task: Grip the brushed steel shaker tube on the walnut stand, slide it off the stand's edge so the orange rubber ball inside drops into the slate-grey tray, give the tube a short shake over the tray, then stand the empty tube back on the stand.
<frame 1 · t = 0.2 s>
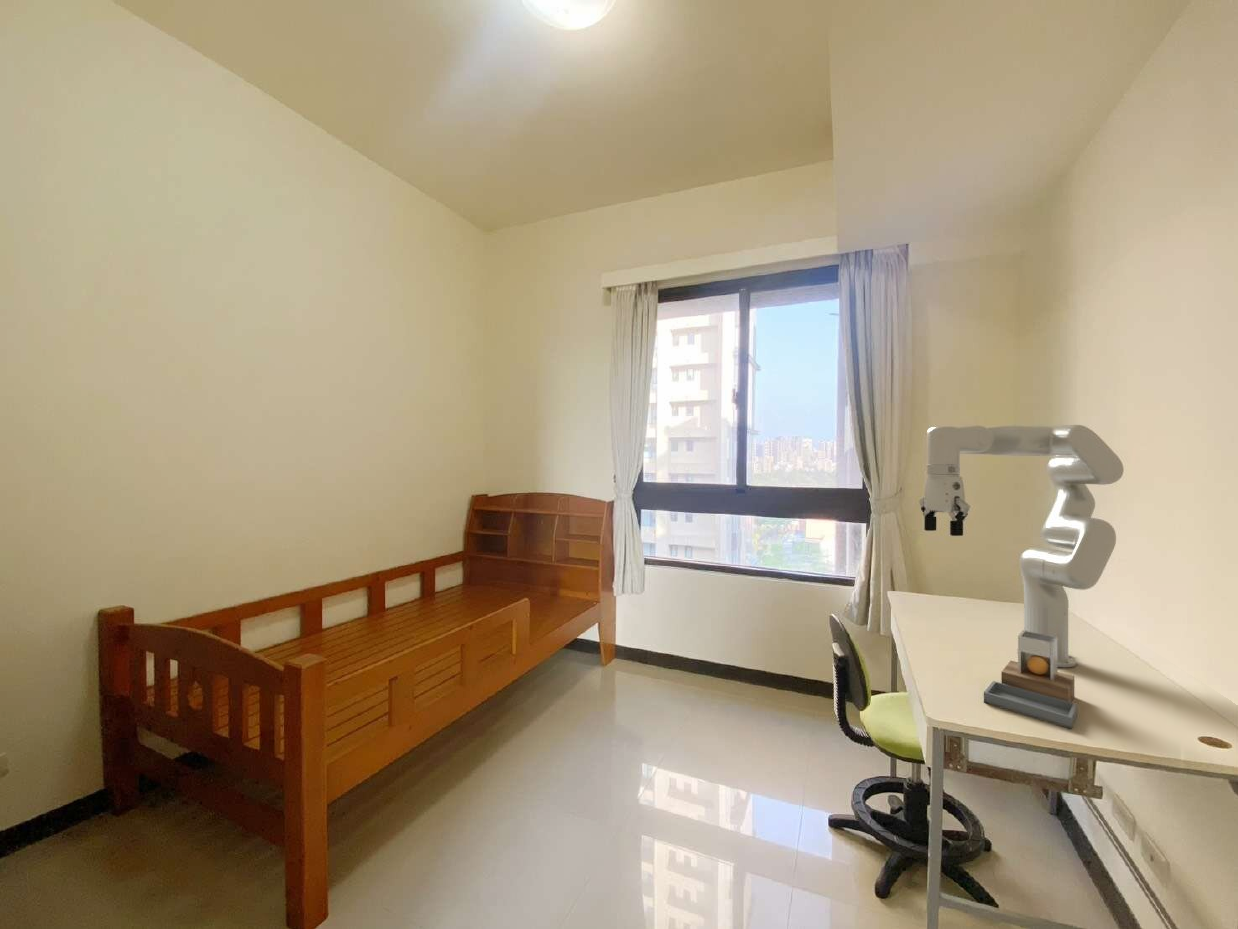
hand: (943, 532, 133), 37 cm above the table, tool pointing down, fingers open, 9 cm apart
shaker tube: (1037, 673, 116), point 5 cm above the table, touching stand
tray: (1029, 708, 110), on the table
stand: (1037, 694, 116), on the table
ball: (1037, 665, 116), point 7 cm above the table, touching stand
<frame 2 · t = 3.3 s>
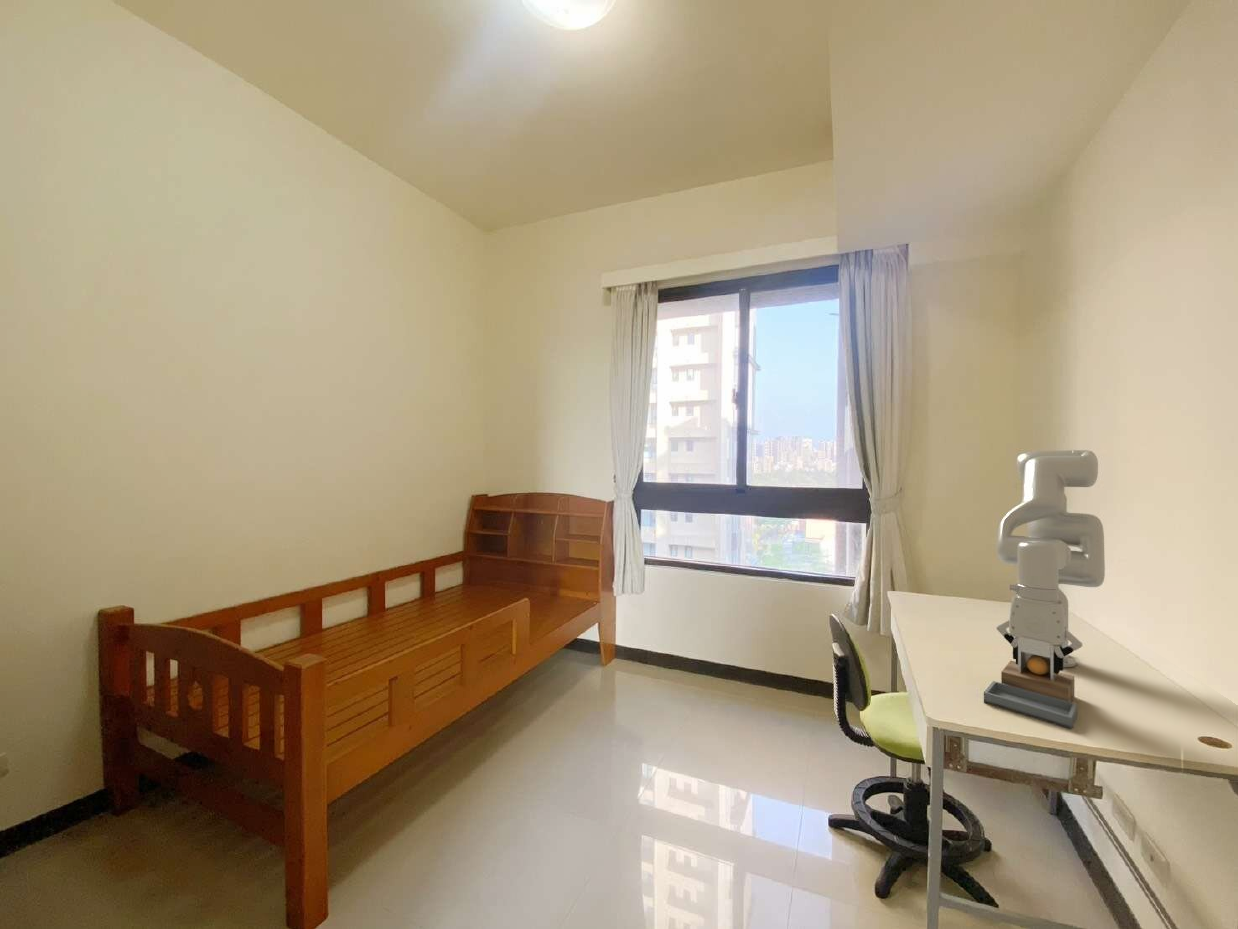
hand: (1037, 666, 116), 7 cm above the table, tool pointing down, fingers closed on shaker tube, 6 cm apart
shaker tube: (1037, 673, 116), point 5 cm above the table, touching gripper, stand
everything else where it was.
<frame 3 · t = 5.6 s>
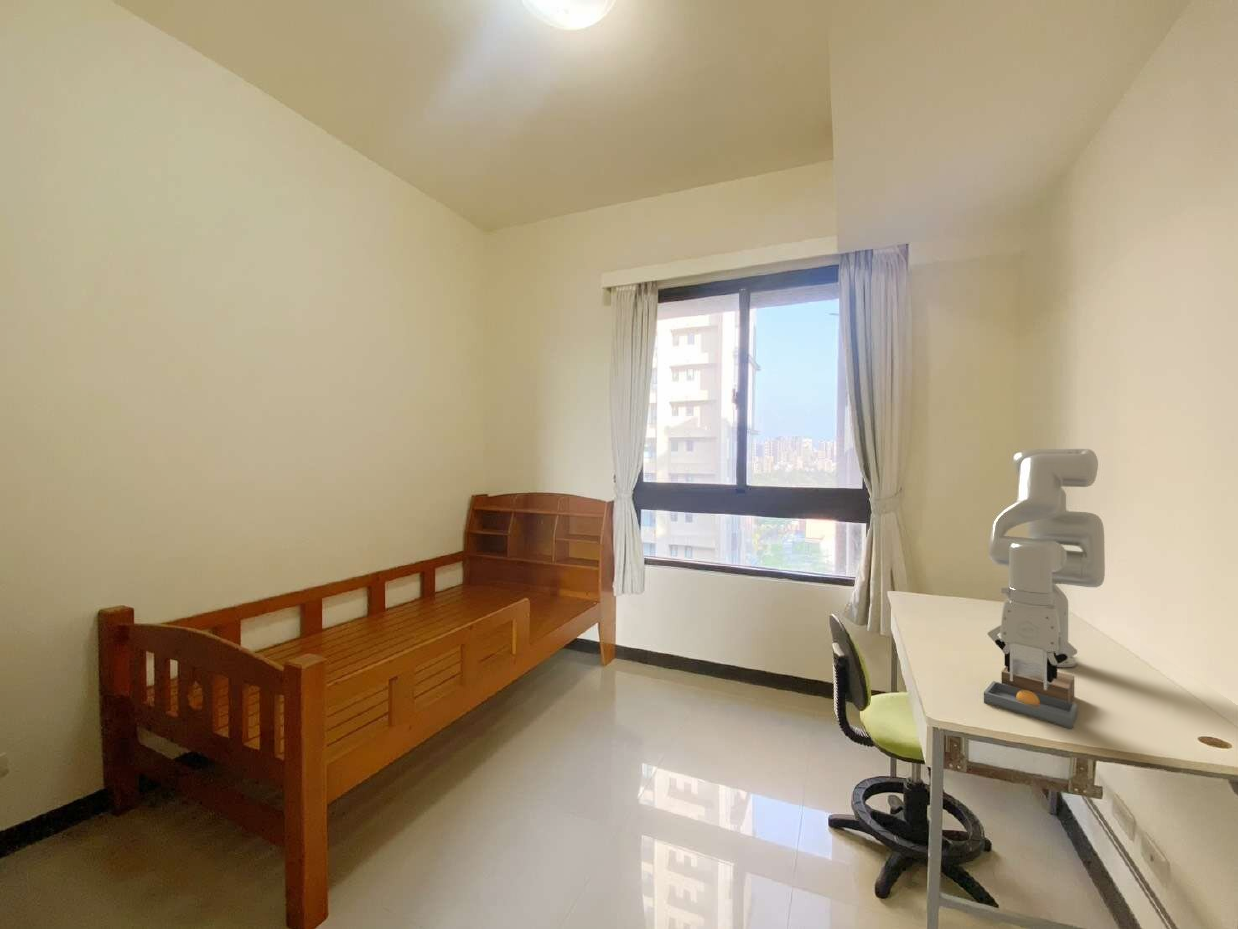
hand: (1030, 674, 110), 7 cm above the table, tool pointing down, fingers closed on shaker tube, 6 cm apart
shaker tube: (1030, 681, 110), point 6 cm above the table, touching gripper
ball: (1027, 699, 108), point 3 cm above the table, tilted 28°, touching tray
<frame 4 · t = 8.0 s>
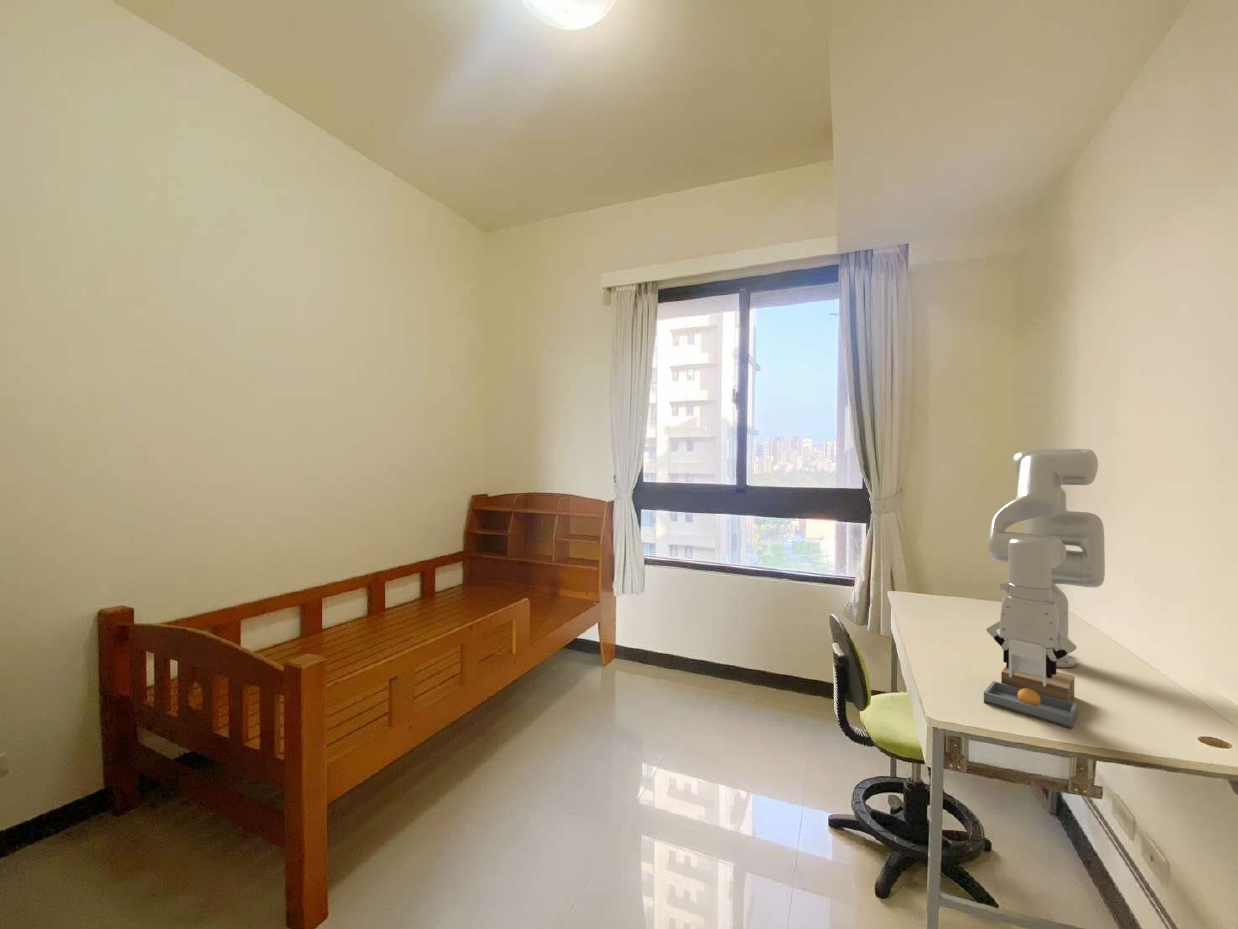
hand: (1029, 670, 110), 9 cm above the table, tool pointing down, fingers closed on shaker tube, 6 cm apart
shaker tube: (1029, 678, 110), point 7 cm above the table, touching gripper
ball: (1028, 698, 109), point 3 cm above the table, tilted 7°, touching tray
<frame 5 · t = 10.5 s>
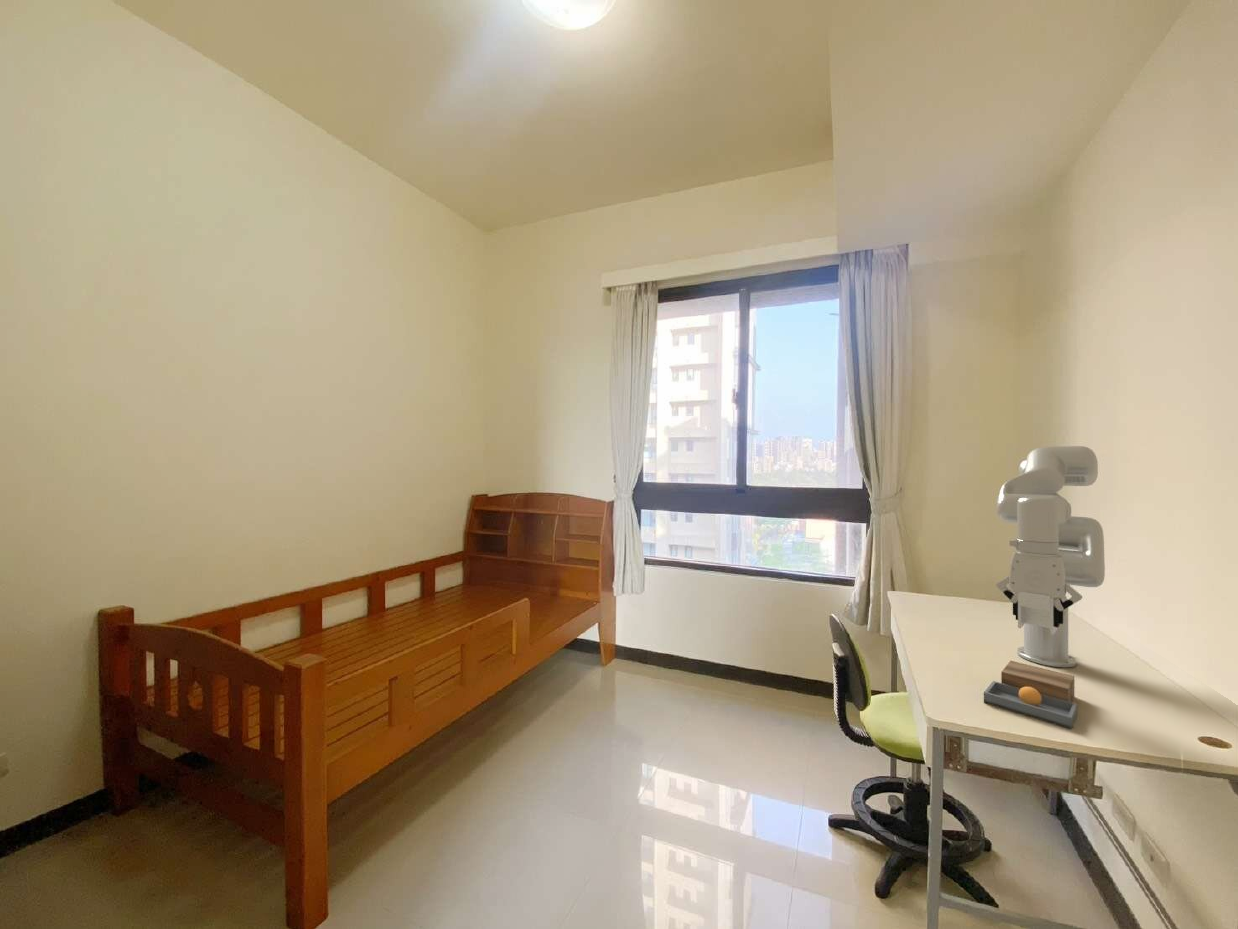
hand: (1037, 621, 116), 18 cm above the table, tool pointing down, fingers closed on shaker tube, 6 cm apart
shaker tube: (1037, 628, 116), point 16 cm above the table, touching gripper
ball: (1029, 696, 110), point 3 cm above the table, tilted 43°, touching tray
when the fingers open (8 cm above the table, at t = 12.6 s): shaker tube drops 1 cm, resting on stand.
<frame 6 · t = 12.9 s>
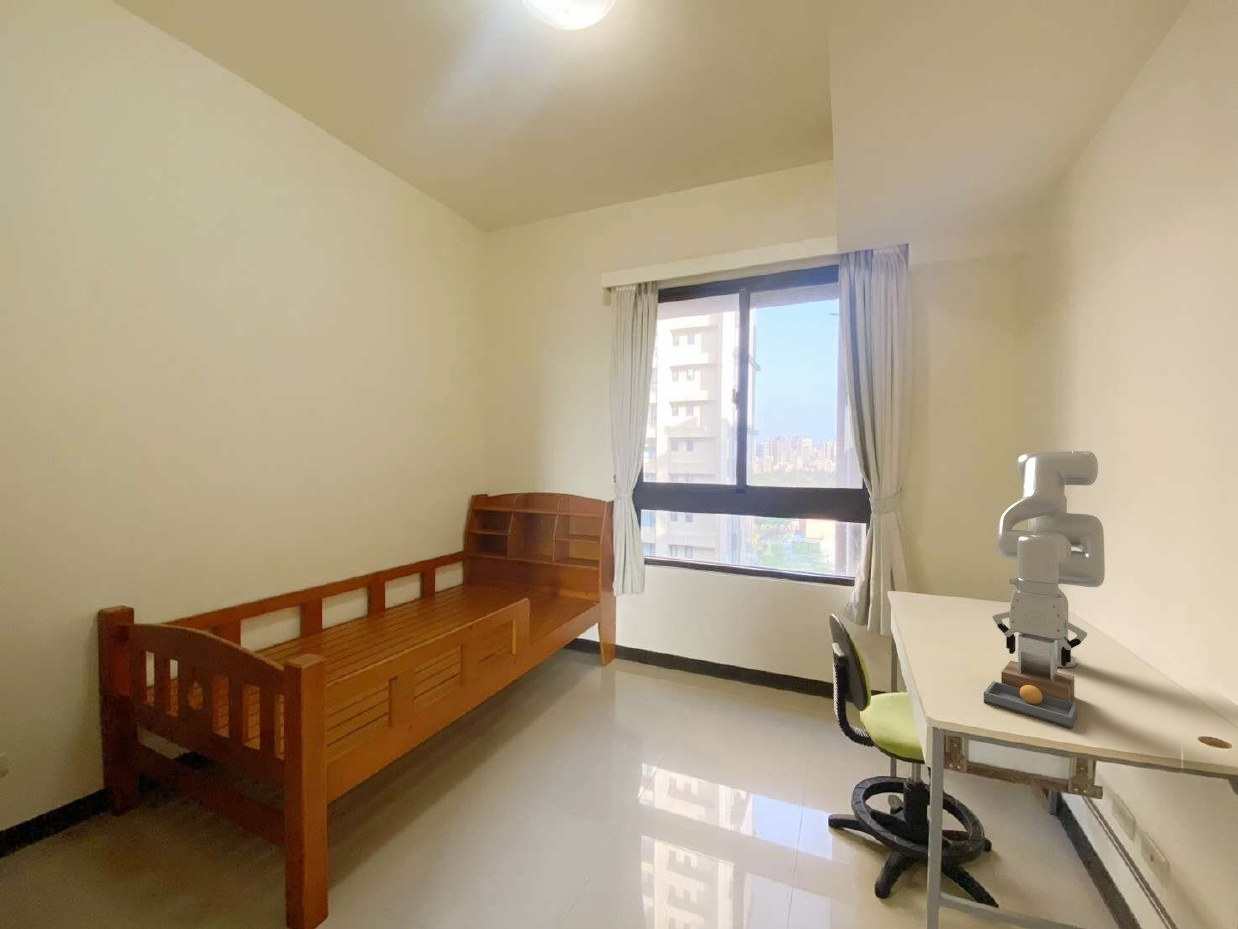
hand: (1037, 658, 116), 9 cm above the table, tool pointing down, fingers open, 9 cm apart
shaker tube: (1037, 673, 116), point 5 cm above the table, touching stand
ball: (1031, 694, 111), point 3 cm above the table, tilted 78°, touching tray
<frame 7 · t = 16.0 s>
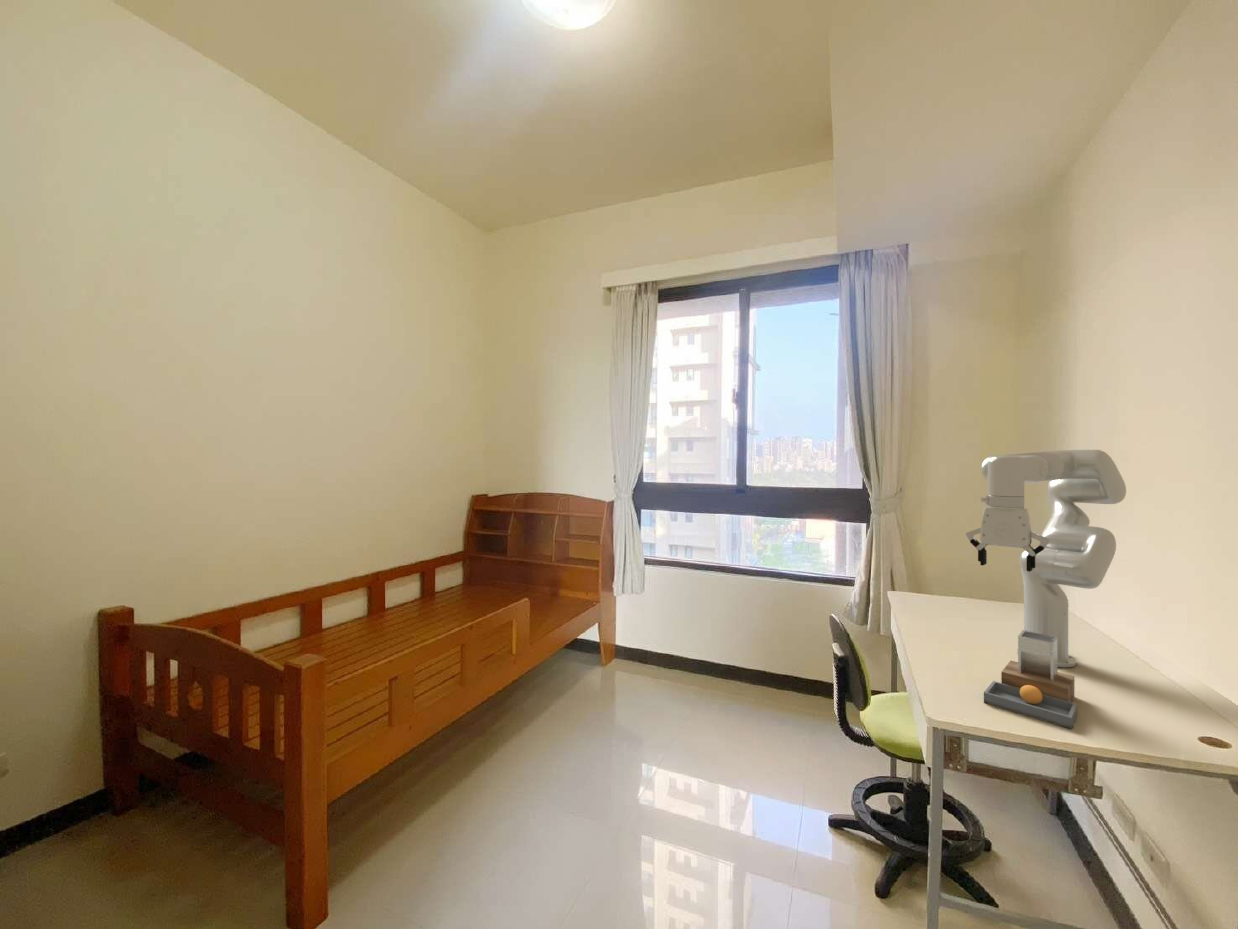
hand: (1005, 567, 127), 28 cm above the table, tool pointing down, fingers open, 9 cm apart
nothing on the table moved.
at the end: ball inside the target area on the tray (1.8 cm from its centre), point 2.6 cm above the tray's base; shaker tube tilted 0°; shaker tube 0.0 cm from the stand (horizontally) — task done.
